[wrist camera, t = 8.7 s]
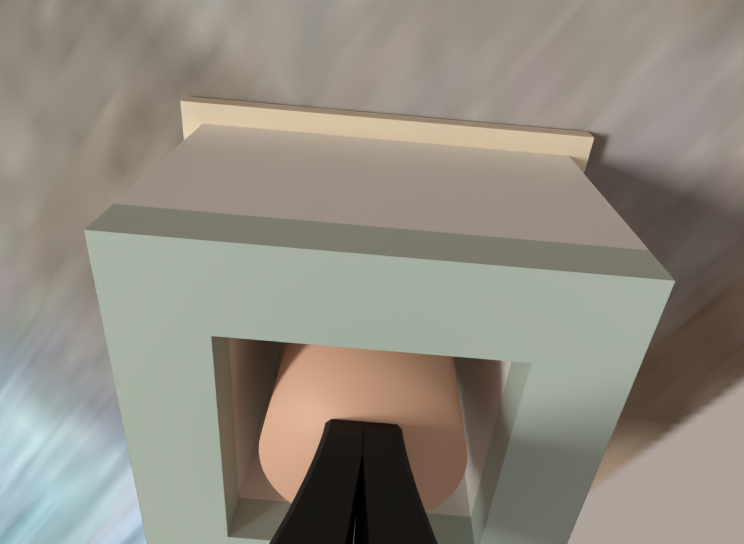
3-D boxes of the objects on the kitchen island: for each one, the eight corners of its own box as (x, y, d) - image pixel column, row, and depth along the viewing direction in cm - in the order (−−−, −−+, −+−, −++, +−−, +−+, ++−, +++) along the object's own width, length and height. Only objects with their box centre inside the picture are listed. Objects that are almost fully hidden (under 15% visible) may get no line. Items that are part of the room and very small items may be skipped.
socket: (507, 423, 19) (555, 623, 13) (213, 398, 19) (135, 589, 13) (588, 132, 14) (720, 254, 8) (187, 96, 14) (43, 195, 8)
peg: (434, 353, 17) (451, 532, 12) (302, 343, 17) (261, 518, 12) (452, 235, 15) (484, 388, 10) (303, 224, 15) (255, 370, 10)
